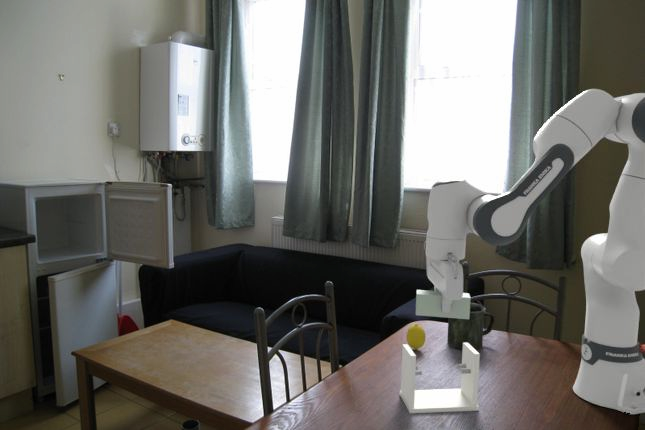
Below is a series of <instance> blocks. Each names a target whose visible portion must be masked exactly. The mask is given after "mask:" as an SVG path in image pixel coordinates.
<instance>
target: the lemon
mask: <svg viewBox="0 0 645 430" xmlns="http://www.w3.org/2000/svg"><path fill="white" fill-rule="evenodd" d="M406 342H407V343H406V344H408V345H409V347H410V348H411V349H412V350H414V351H417V350H419V349H420V348H422V347H423V346H424V345H425V342H426V331H425V330H424V327H422V326H421V325H419V324H418V323H415V324H413V325H410V326H409V327H408V329H407V332H406Z"/></svg>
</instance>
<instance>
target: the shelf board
mask: <svg viewBox="0 0 645 430" xmlns="http://www.w3.org/2000/svg"><path fill="white" fill-rule="evenodd" d="M415 299H416V300H415V316H420V317H421V316H422V317H435V318H445V319H446V318H447V319H448V318H458V319H469V316H470V303H471V299H472V298H471V295H470V293H468V292H463V296H462V299H460V300H452V303H451V307H450V312H449V313H444V312H443V311H442V310H441V303H442V300H443V298H442V294H441V292H440V291H435V290H426V289H416V295H415Z"/></svg>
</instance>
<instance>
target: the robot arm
mask: <svg viewBox="0 0 645 430" xmlns="http://www.w3.org/2000/svg"><path fill="white" fill-rule="evenodd" d="M602 139H603V140H604V141H607V142H611V143H621V144H626V145H627V148H628V158H627V160H626V164H625V165H624V168H623V169H622V172H621V174H620V177H619V180H618V183H617V185H616V187H615V191H614V193H613V195H612V198H611V200H610V203H609V210H608V211H609V224H608V230H607V232H606V233H603V232H602V233H596V234H594V235H591V236H590V237H588V238H587V239H585V241H584V242H583V244H582V246H581V250H580V256H581V259H582V266H583V278H584V290H585V291H584V292H585V298H586V299H585V300H586V303H585V304H586V306H585V309H586V310H585V323H584V333H583V334H582V336H581V337H582V338H581V347H580V352H581V353H580V354H581V361H580V365H579V369H578V373H577V375H576V379H575V382H574V384H573V386H572V390H573V392H574V393H575V394H576V395H577V396H578V397H579V398H581V399H583V400H585V401H587V402H588V403H590V404H594V405H597V406H600V407H605V408H608V409H613V410H617V411H620V412H622V413H624V412H626V413H625V414H627V413H630V414H629V415H639V414H643V413H645V358H644V356H643V353H644V354H645V344H641V342H639V341H638V335H639V322H640V315H641V314H640V308H639V305H638V302H637V298H636V297H637V296H636V293H635V292H640V291H641V292H642V291H645V92H638V93H632V94H627V95H621V96H620V95H619V96H618V95H617V96H613V95H611V94H610V93H608V92H606V91H605V90H604V89H603V90H602V89H599V88H590V89H589V88H588V89H587V90H584V91H582V92H581V93H580V94H578V95H576V96H575V97H574V98H572V99H571V100H569V101H568V102H567V103H565V104H564V105H563V106H562V107H561V108H560V109H558V110H557V111H556V112H555V113H554V114H553V115H552V116H551V117H550V118H549V119H548V120H547V121H546V122H545V123H544V124H543V125H542V126H541V128H540V129H539V130H538V131H537V133H536V134H535V136H534V138H533V139H532V140H533V141H532V149H533V154H534V156H535V159H534V162H533V163H532V165H531V166H530V167H529V169H528V170H526V172H524V174H523V175H522V176H521V177H520V178H519V179H518V180H517V182H515V183H514V184H513V186H512V187H511V188H510V189H508V191H506V192H505V193H503V194H500V195H494V194H492V193H489V192H485V191H484V190H481V189H479V188H477V187H475V186H473V185H472V184H470V183H469V182H468V181H467V180H466V179H464V178H458V177H457V178H447V179H441V180H438V181H437V182H435V183H434V184H433V185H432V186H431V189H430V192H429V196H428V205H427V216H426V217H427V221H428V228H427V232H426V239H425V241H424V244H423V245H424V246H423V248H424V251H425V256H426V261H425V262H426V263H425V264H426V276H427V279H428V280H429V281H430V282H431V283H432V284H433V286H434V287H433V288H434V290H433V291H440V292H441V294H442V298H443V300H442V303H441V310H442V311H443V312H444V313H449V312H450V307H451V303H452V300H460V299H462V296H463V293H464V269H463V266H462V264H461V263H460V261H461V260H464V259H465V258H466V246H467V235H468V234H475V235H477V236H478V237H479V238H481V239H482V240H483V241H484V242H486V243H488V244H489V245H491V246H499V247H500V246H506V245H508V244H509V245H510V244H511V243H514V242H515V241H516V240H518V239H519V238H520V236H521V235H522V234H523V232H524V230H525V228H526V226H527V224H528V221H529V219H530V217H531V216H532V214H533V213H534V211H535V210H536V209H537V207H538V206H539V205H541V203H542V202H543V201H544V200H545V199H546V197H547V196H549V194H550V193H551V192H553V190H554V189H555V188H556V187H557V186H558V184H559V183H560V182H561V181H562V180H563V179H564V177H566V175H567V174H568V173H569V172H570V170H571V169H572V168H573V167H574V166H575V165H576V164H577V163H578V162H580V160H581V159H583V157H585V156H586V154H588V153H589V152H590V151H591V149H593V148H594V147H595V146H596V145H597V144H598V142H599V141H600V140H602Z"/></svg>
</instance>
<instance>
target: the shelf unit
mask: <svg viewBox="0 0 645 430" xmlns="http://www.w3.org/2000/svg"><path fill="white" fill-rule="evenodd" d="M461 353H462V354H461V355H462V356H461V364H460V363H459V364H457V363H456V369H458V370H459V369H460V373H461V378H460V379H461V380H460V388H437V389H434V388H433V389H416V376H422V375H423V372H422V370H419V365H417V355H416V353H415V352H414V351H413V349H412V347H410V346H409V344H408V343H406V344H404V343H403V344H402V352H401V354H402V355H401V379H400V380H401V382H400V383H401V385H400V390H399V396H400V398H401V400H402V401H403V403H404V404H405V407H406V408H407V411H408V412H409V414H424V413H426V414H427V413H431V414H432V413H446V412H447V413H448V412H450V413H451V412H474V411H480V406H479V405H478V394H479V376H480V375H479V374H480V372H479V371H480V357H481V353H479V352H478V351H477V349H476V350H475V349H474V348H473V347H472V346H471V345H470V344H469V343H463V350H462V352H461Z"/></svg>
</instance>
